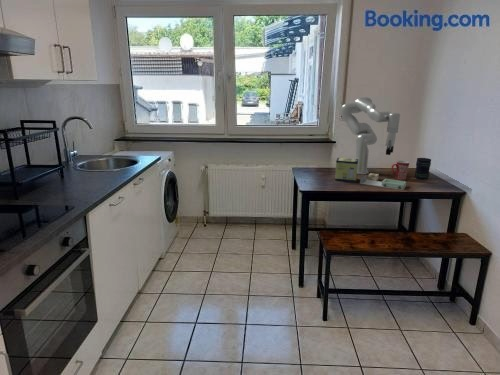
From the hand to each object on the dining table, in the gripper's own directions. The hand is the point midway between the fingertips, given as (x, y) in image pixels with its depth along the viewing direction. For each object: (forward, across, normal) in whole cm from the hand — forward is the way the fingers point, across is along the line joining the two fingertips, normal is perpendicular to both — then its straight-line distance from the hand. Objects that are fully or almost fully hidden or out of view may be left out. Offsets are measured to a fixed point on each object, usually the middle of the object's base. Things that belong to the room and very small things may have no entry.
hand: (389, 153), depth 250 cm
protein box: (+21, +15, -26) cm, 37 cm away
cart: (+20, +16, +8) cm, 27 cm away
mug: (+20, -6, +8) cm, 23 cm away
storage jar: (+20, -18, +22) cm, 35 cm away
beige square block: (+20, +4, -8) cm, 22 cm away
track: (+20, +16, +1) cm, 25 cm away
